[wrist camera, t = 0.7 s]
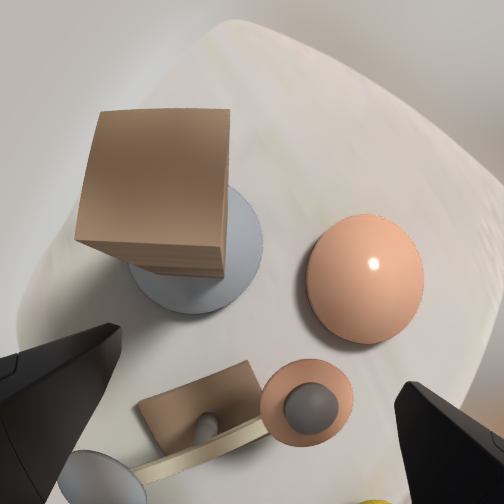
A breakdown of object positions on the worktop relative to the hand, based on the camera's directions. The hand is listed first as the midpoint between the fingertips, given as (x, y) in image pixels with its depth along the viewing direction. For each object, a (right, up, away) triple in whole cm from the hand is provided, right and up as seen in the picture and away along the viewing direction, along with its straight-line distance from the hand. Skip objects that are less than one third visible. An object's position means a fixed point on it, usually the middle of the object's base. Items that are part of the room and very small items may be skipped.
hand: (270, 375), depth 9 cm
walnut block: (-5, +4, +14) cm, 15 cm away
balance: (-4, -9, +13) cm, 16 cm away
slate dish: (-5, +4, +15) cm, 16 cm away
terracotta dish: (+9, +1, +16) cm, 18 cm away
